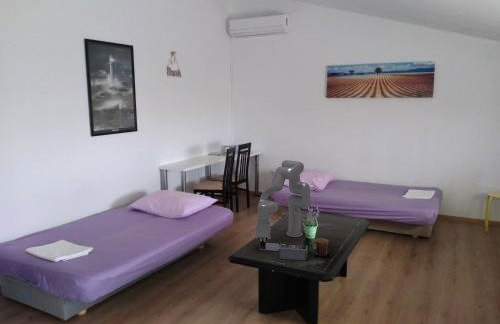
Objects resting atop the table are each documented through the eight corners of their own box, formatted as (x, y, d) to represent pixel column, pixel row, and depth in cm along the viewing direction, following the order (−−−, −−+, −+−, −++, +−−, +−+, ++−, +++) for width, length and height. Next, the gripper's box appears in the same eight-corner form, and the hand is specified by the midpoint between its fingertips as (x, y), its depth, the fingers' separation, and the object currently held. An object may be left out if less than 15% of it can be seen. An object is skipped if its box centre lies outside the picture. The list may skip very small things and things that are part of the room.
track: (259, 248, 278) (259, 248, 278) (280, 250, 276) (280, 250, 276) (259, 250, 275) (259, 250, 275) (279, 251, 273) (279, 251, 273)
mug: (324, 252, 273) (325, 238, 271) (329, 257, 264) (330, 242, 262) (308, 253, 270) (308, 239, 269) (312, 258, 262) (313, 243, 260)
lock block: (289, 253, 271) (289, 244, 270) (297, 253, 270) (298, 245, 269) (288, 258, 263) (288, 249, 262) (297, 258, 262) (297, 249, 261)
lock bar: (266, 248, 277) (266, 241, 276) (285, 250, 275) (285, 242, 274) (265, 249, 275) (265, 242, 274) (285, 251, 273) (285, 243, 272)
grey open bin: (280, 252, 273) (280, 242, 272) (307, 253, 270) (307, 244, 268) (278, 258, 262) (278, 248, 260) (306, 260, 258) (306, 250, 257)
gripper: (274, 220, 275) (274, 245, 278) (253, 218, 278) (253, 243, 281) (273, 223, 268) (272, 249, 271) (251, 222, 271) (251, 247, 274)
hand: (262, 246), depth 276 cm, fingers closed
